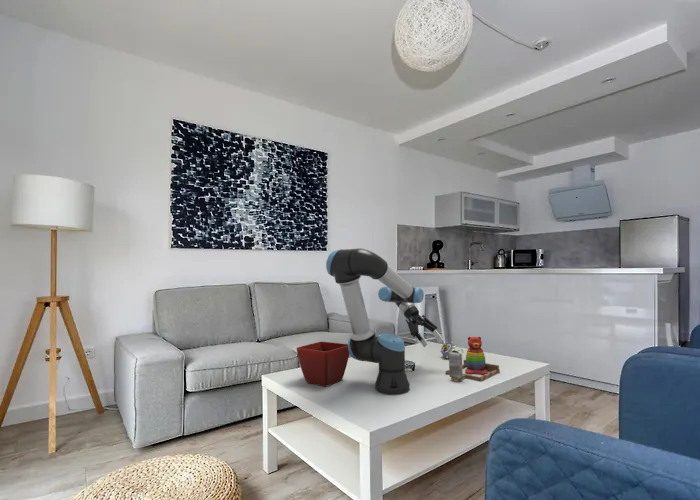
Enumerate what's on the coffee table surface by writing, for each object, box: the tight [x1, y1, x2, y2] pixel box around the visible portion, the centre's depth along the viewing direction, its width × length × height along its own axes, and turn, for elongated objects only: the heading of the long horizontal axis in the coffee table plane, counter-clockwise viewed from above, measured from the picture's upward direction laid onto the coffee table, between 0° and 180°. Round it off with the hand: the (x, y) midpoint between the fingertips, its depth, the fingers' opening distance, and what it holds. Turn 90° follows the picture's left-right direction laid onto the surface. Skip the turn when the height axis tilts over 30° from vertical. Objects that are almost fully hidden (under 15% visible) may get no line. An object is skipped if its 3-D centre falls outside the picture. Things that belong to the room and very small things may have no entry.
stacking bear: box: [464, 336, 489, 376], centre depth 188 cm, size 11×10×18 cm
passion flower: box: [439, 341, 464, 360], centre depth 218 cm, size 11×11×12 cm
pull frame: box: [445, 352, 501, 383], centre depth 183 cm, size 28×18×12 cm, turn 135°
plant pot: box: [296, 341, 350, 387], centre depth 180 cm, size 19×19×17 cm
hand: (434, 343), depth 183 cm, fingers open, 13 cm apart
